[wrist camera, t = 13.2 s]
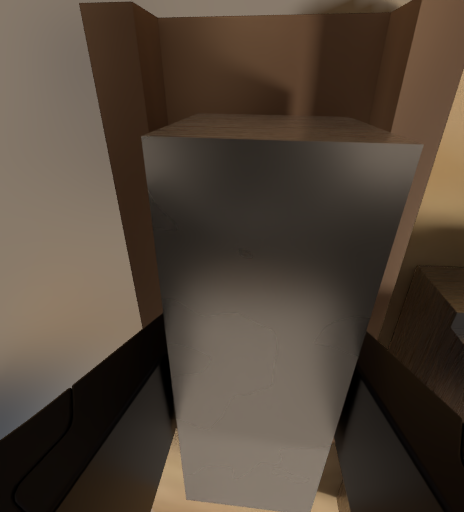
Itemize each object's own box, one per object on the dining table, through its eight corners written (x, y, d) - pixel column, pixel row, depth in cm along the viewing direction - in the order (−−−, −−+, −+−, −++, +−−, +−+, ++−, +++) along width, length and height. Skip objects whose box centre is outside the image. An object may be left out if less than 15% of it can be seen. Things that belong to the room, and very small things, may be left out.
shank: (348, 116, 6) (423, 144, 3) (297, 394, 11) (309, 515, 8) (198, 112, 7) (141, 135, 4) (208, 385, 11) (186, 499, 8)
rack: (423, 18, 7) (488, -9, 5) (332, 390, 13) (344, 443, 11) (128, 25, 8) (79, 3, 6) (176, 377, 14) (162, 426, 12)
